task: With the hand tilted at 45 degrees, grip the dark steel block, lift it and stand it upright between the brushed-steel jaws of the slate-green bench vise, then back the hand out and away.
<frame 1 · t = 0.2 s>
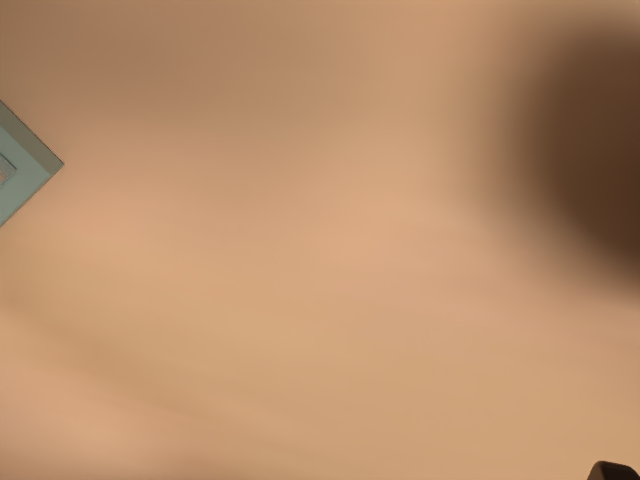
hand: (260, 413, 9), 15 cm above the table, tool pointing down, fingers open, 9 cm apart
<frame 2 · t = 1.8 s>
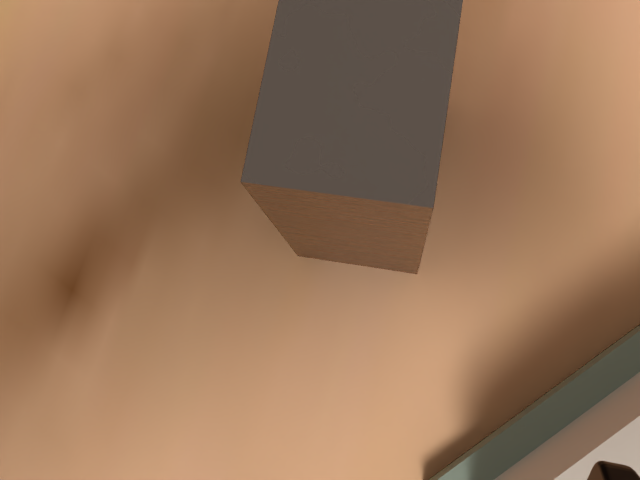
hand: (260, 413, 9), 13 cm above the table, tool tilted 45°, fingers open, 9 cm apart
steel block: (371, 176, 23), on the table
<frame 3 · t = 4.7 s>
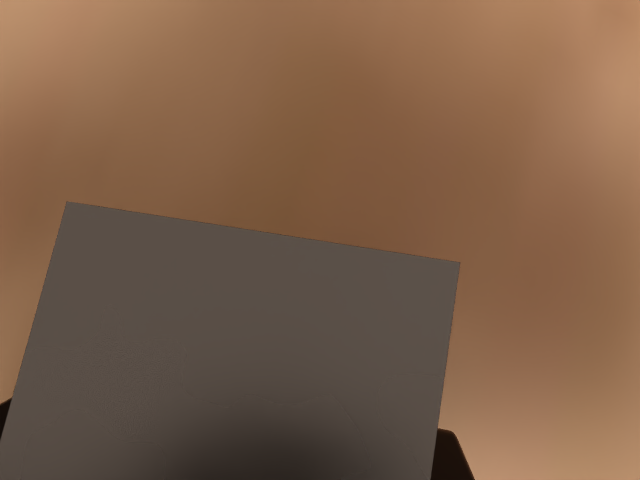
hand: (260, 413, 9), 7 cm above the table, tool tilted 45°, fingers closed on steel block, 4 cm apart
steel block: (305, 457, 15), on the table, touching gripper
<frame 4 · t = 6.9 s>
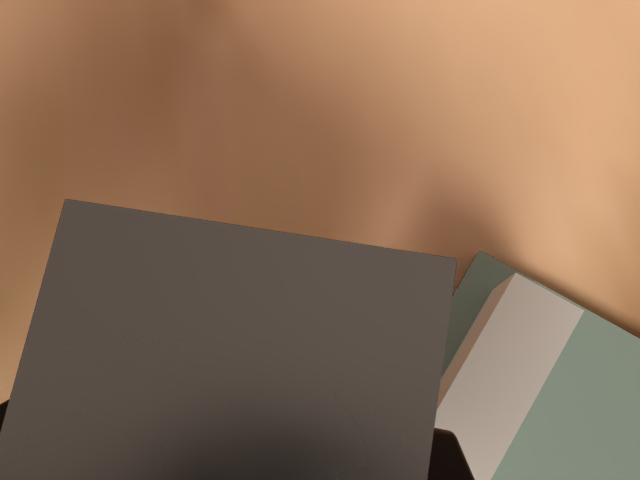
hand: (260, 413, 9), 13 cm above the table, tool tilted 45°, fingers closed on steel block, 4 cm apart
steel block: (304, 455, 15), point 7 cm above the table, touching gripper
when the fingers open (9 cm above the table, at t = 9.1 s): steel block drops 1 cm, resting on vise.
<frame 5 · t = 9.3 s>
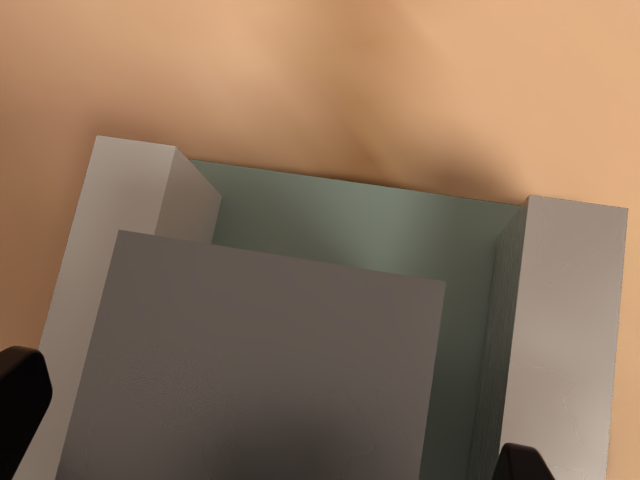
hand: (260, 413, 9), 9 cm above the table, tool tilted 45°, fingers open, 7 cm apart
vise: (317, 445, 17), on the table
steel block: (312, 449, 16), point 1 cm above the table, touching vise
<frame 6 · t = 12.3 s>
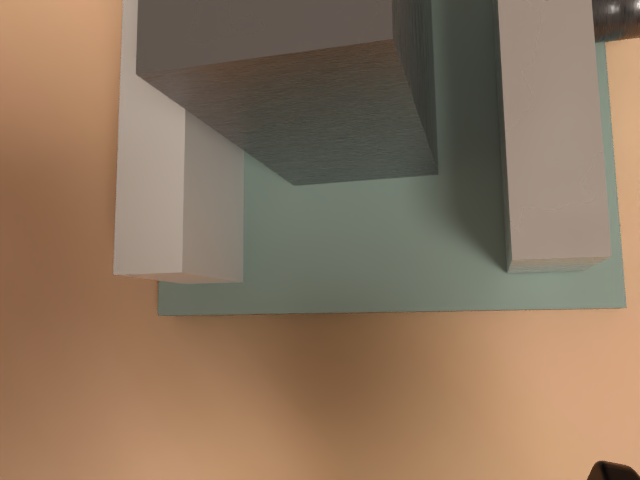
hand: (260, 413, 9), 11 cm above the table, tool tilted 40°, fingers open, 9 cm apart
vise: (368, 83, 20), on the table
steel block: (361, 71, 19), point 1 cm above the table, touching vise
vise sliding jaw: (587, 10, 15), point 3 cm above the table, slide at 0.0 cm
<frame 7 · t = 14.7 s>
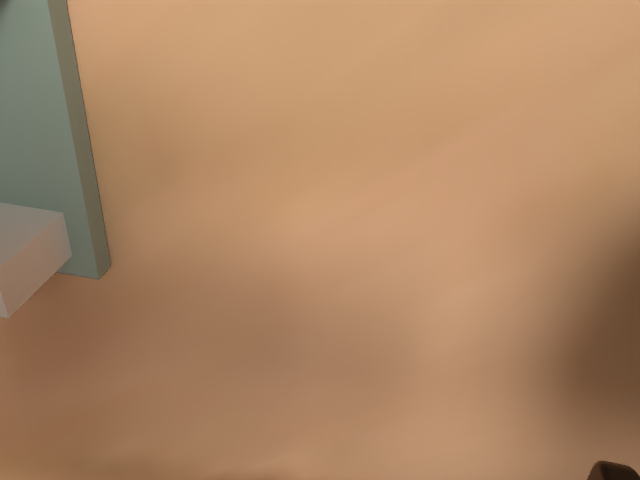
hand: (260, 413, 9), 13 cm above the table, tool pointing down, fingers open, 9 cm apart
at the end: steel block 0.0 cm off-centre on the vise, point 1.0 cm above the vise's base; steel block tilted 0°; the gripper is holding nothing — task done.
